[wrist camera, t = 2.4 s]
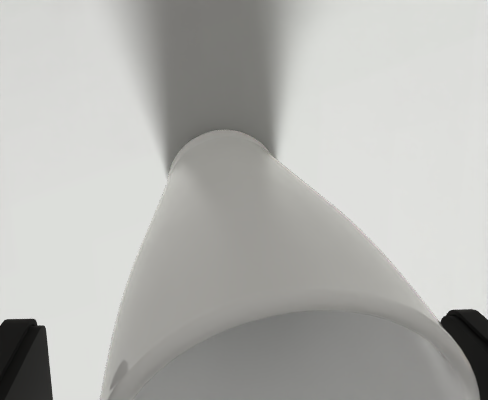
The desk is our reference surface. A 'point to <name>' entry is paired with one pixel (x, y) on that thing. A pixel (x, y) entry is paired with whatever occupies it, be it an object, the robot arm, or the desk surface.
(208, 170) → the drinking glass
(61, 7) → the desk surface
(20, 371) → the robot arm
